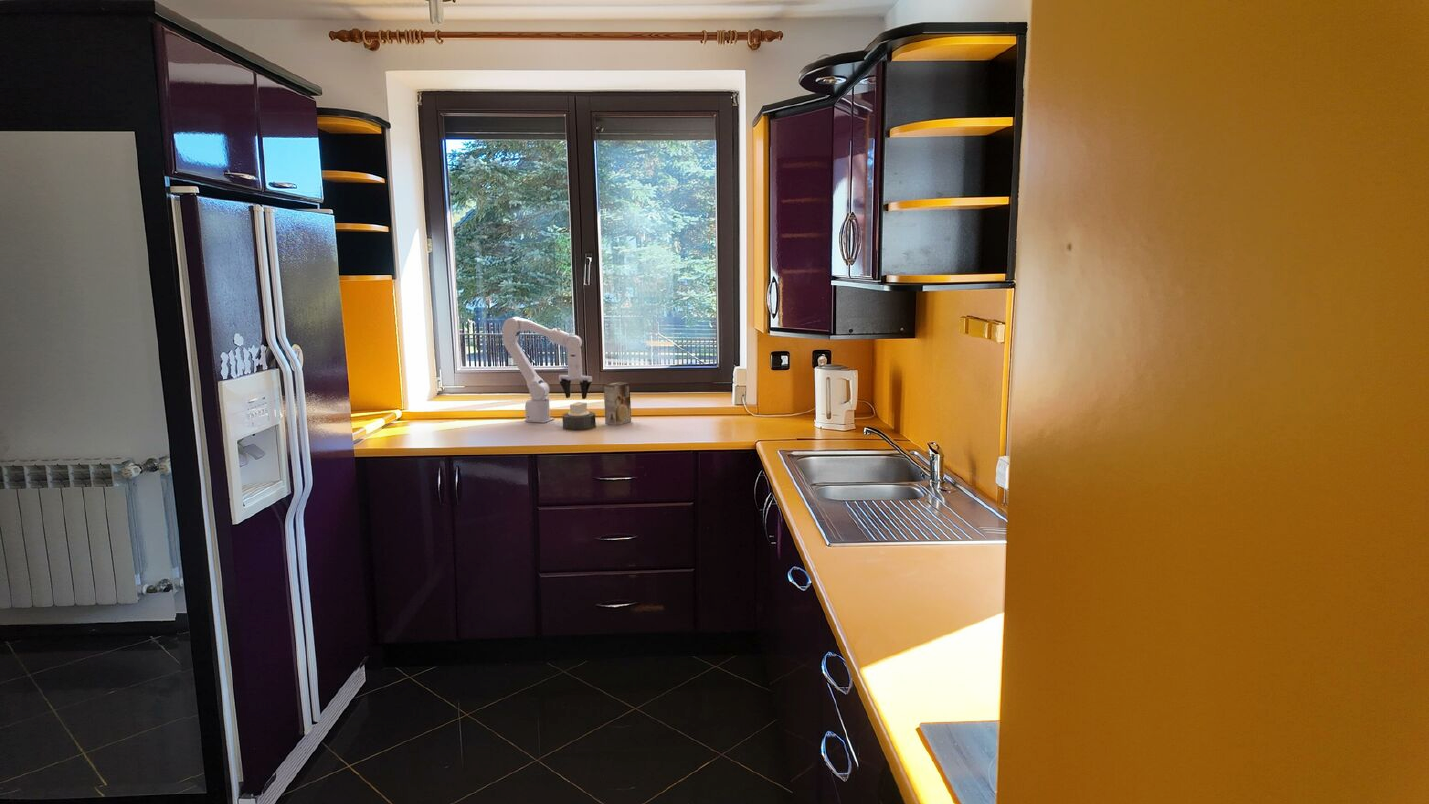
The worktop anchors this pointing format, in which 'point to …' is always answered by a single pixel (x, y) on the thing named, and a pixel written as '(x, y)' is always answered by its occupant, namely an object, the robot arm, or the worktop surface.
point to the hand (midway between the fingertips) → (576, 398)
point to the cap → (578, 409)
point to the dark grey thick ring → (579, 422)
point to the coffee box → (617, 403)
